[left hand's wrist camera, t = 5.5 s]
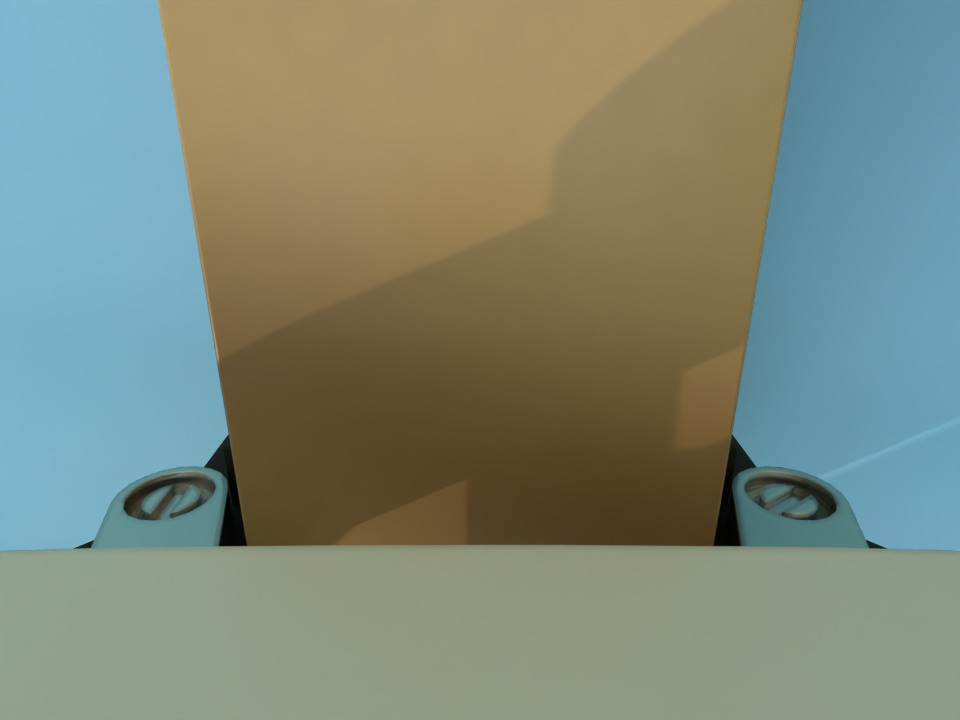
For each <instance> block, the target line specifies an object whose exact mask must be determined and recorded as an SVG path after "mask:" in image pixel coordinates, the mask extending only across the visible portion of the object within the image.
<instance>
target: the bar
mask: <svg viewBox="0 0 960 720" xmlns="http://www.w3.org/2000/svg"><path fill="white" fill-rule="evenodd" d="M802 3H803V0H158V4H159V10H160V16H161V22H162V28H163V34H164V40H165V47H166V53H167V59H168V65H169V71H170V77H171V83H172V89H173V96H174V102H175V108H176V114H177V120H178V126H179V132H180V138H181V145H182V151H183V157H184V163H185V169H186V175H187V181H188V187H189V194H190V200H191V206H192V212H193V218H194V224H195V230H196V236H197V243H198V249H199V255H200V261H201V267H202V273H203V279H204V285H205V292H206V298H207V304H208V310H209V316H210V322H211V328H212V334H213V341H214V347H215V353H216V359H217V365H218V371H219V377H220V383H221V390H222V396H223V402H224V408H225V414H226V420H227V426H228V432H229V439H230V445H231V451H232V457H233V463H234V469H235V475H236V481H237V488H238V494H239V500H240V506H241V512H242V518H243V524H244V530H245V537H246V543H247V546H310V545H630V546H714V540H715V534H716V528H717V522H718V516H719V510H720V504H721V497H722V491H723V485H724V479H725V473H726V467H727V461H728V455H729V449H730V443H731V436H732V430H733V424H734V418H735V412H736V406H737V400H738V394H739V388H740V381H741V375H742V369H743V363H744V357H745V351H746V345H747V339H748V333H749V327H750V320H751V314H752V308H753V302H754V296H755V290H756V284H757V278H758V272H759V266H760V259H761V253H762V247H763V241H764V235H765V229H766V223H767V217H768V211H769V205H770V198H771V192H772V186H773V180H774V174H775V168H776V162H777V156H778V150H779V144H780V137H781V131H782V125H783V119H784V113H785V107H786V101H787V95H788V89H789V83H790V76H791V70H792V64H793V58H794V52H795V46H796V40H797V34H798V28H799V22H800V15H801V9H802Z"/></svg>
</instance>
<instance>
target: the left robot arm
mask: <svg viewBox="0 0 960 720" xmlns="http://www.w3.org/2000/svg"><path fill="white" fill-rule="evenodd" d="M0 720H960V551H945V550H911V549H887V548H884V547H882V546H879V545H877V544H875V543H872V542H870V541H867V540H865V538H864V535H863V533H862V531H861V529H860V526H859V524H858V522H857V520H856V517H855V515H854V513H853V511H852V508H851V506H850V504H849V502H848V501H847V499H846V498H845V497H844V495H843V494H842V493H841V492H840V491H838V490H837V489H836V488H835V487H833V486H832V485H831V484H829V483H827V482H825V481H823V480H821V479H819V478H817V477H815V476H812V475H809V474H806V473H803V472H801V471H797V470H792V469H787V468H782V467H765V466H764V467H756V466H755V465H754V463H753V462H752V461H751V459H750V458H749V456H748V455H747V454H746V452H745V451H744V450H743V448H742V447H741V446H740V444H739V443H738V442H737V440H736V439H735V438H734V436H733V435H732V436H731V443H730V449H729V455H728V461H727V467H726V473H725V479H724V485H723V491H722V497H721V504H720V510H719V516H718V522H717V528H716V534H715V540H714V546H630V545H310V546H247V543H246V537H245V530H244V524H243V518H242V512H241V506H240V500H239V494H238V488H237V481H236V475H235V469H234V463H233V457H232V451H231V445H230V439H229V434H228V436H227V437H226V438H225V440H224V441H223V442H222V444H221V445H220V447H219V448H218V449H217V451H216V452H215V453H214V455H213V456H212V457H211V459H210V460H209V461H208V463H207V464H206V465H205V467H196V466H195V467H178V468H173V469H168V470H163V471H159V472H157V473H154V474H151V475H148V476H145V477H143V478H141V479H139V480H137V481H135V482H133V483H131V484H129V485H128V486H127V487H125V488H124V489H123V490H122V491H120V492H119V493H118V494H117V495H116V497H115V498H114V499H113V501H112V502H111V504H110V506H109V508H108V511H107V513H106V515H105V517H104V520H103V522H102V524H101V526H100V529H99V531H98V533H97V535H96V538H95V540H93V541H91V542H88V543H86V544H83V545H81V546H79V547H76V548H74V549H50V550H17V551H0Z"/></svg>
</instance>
